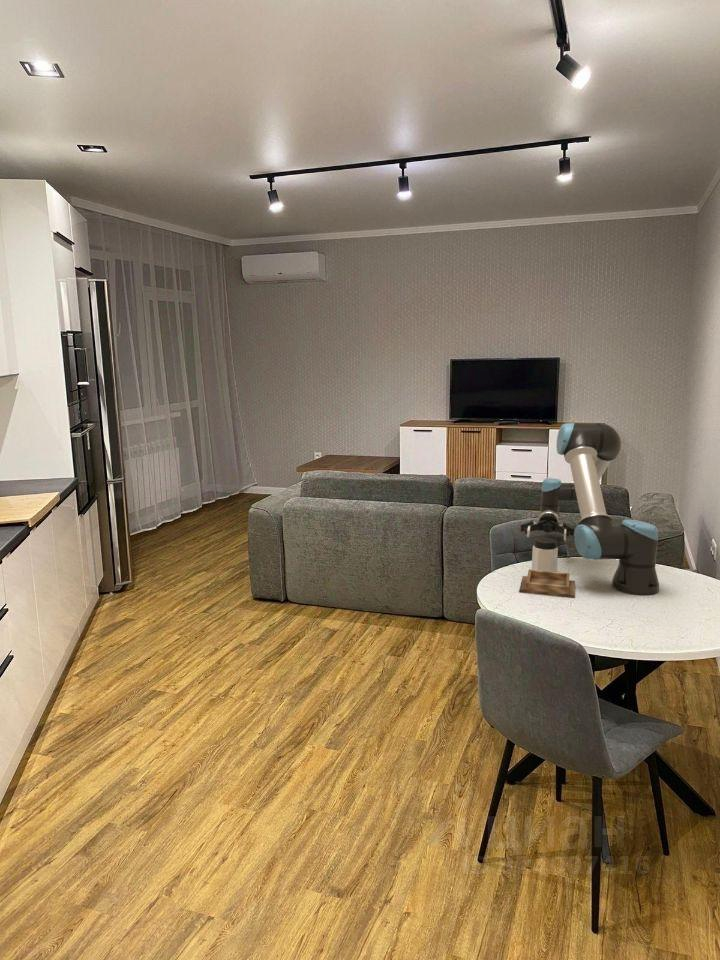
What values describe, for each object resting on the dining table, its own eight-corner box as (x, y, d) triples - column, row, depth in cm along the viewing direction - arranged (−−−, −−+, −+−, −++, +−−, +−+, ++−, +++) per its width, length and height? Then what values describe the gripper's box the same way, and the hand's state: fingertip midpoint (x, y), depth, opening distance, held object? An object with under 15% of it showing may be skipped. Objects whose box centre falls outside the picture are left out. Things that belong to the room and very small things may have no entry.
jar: (547, 576, 258) (549, 544, 256) (527, 571, 264) (529, 539, 262) (560, 571, 264) (562, 539, 262) (540, 566, 270) (542, 535, 268)
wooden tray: (574, 583, 251) (575, 574, 250) (574, 597, 237) (575, 587, 236) (522, 578, 256) (522, 569, 255) (519, 592, 242) (519, 582, 241)
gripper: (579, 533, 289) (579, 547, 269) (516, 527, 296) (512, 541, 276) (581, 515, 287) (581, 528, 267) (517, 510, 294) (513, 523, 274)
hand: (546, 535), depth 272 cm, fingers open, 13 cm apart
